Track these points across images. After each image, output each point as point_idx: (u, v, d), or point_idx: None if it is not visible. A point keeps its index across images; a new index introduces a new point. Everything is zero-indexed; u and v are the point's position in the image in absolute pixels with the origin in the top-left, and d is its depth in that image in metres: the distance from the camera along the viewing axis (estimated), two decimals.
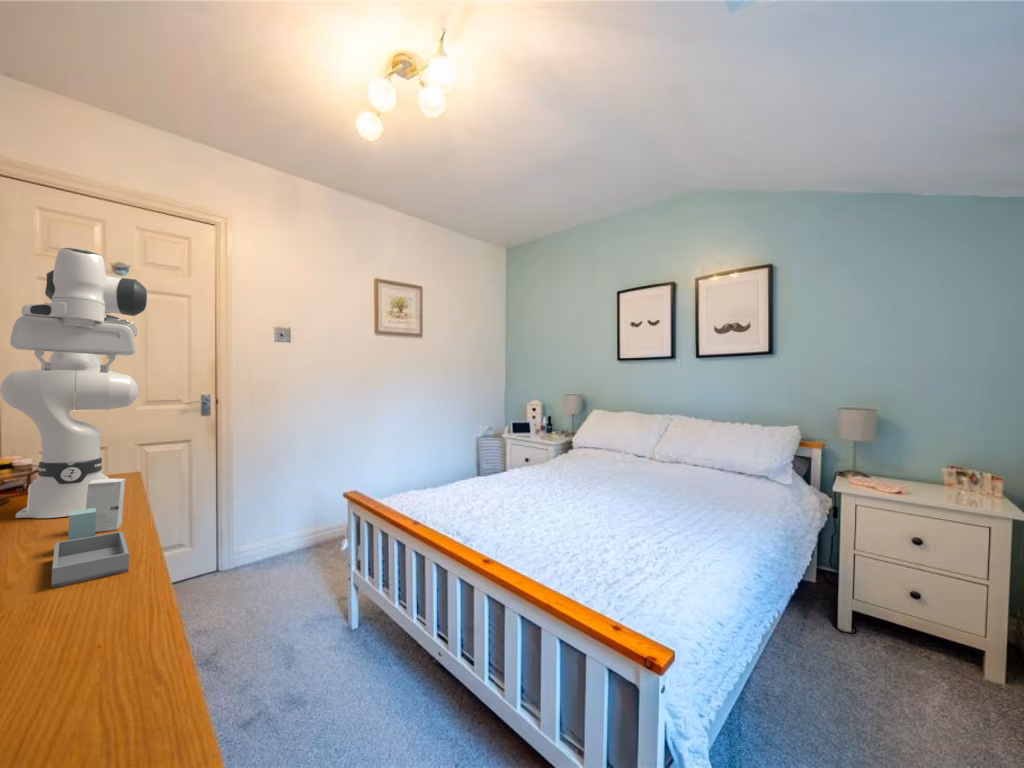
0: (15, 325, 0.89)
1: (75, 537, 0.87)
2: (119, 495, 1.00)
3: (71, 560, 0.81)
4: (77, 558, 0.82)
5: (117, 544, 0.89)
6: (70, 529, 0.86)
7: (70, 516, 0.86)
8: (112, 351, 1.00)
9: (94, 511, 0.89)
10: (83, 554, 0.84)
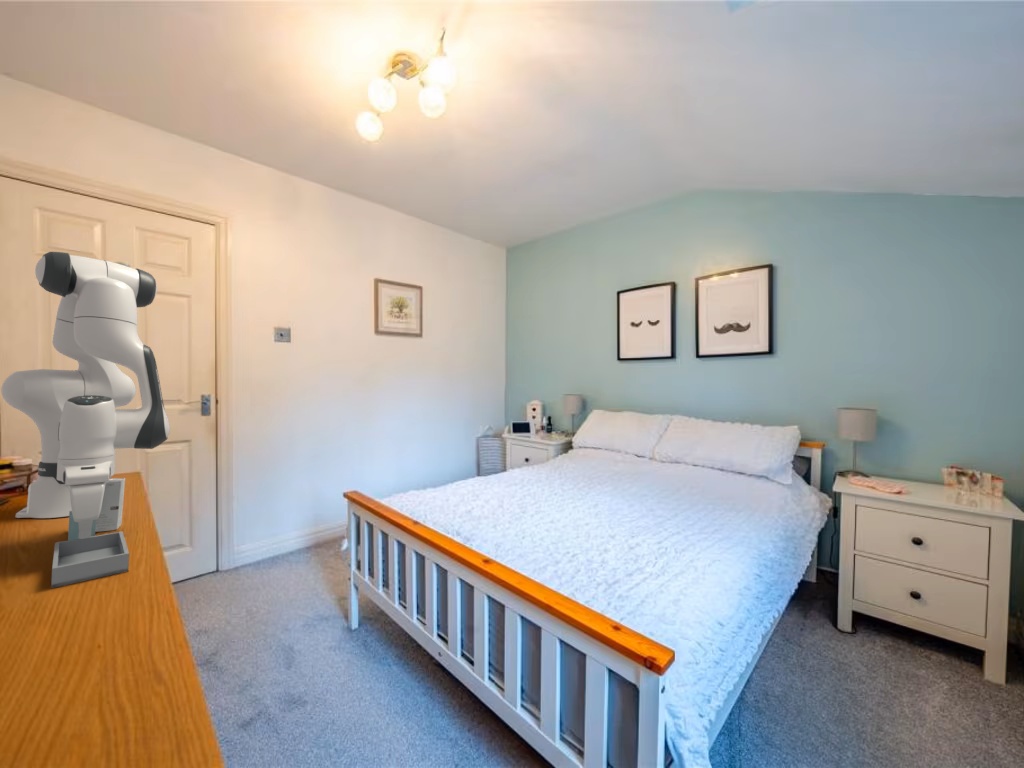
0: (102, 495, 0.84)
1: (75, 537, 0.87)
2: (119, 495, 1.00)
3: (71, 560, 0.81)
4: (77, 558, 0.82)
5: (117, 544, 0.89)
6: (70, 529, 0.86)
7: (70, 516, 0.86)
8: None
9: None
10: (83, 554, 0.84)
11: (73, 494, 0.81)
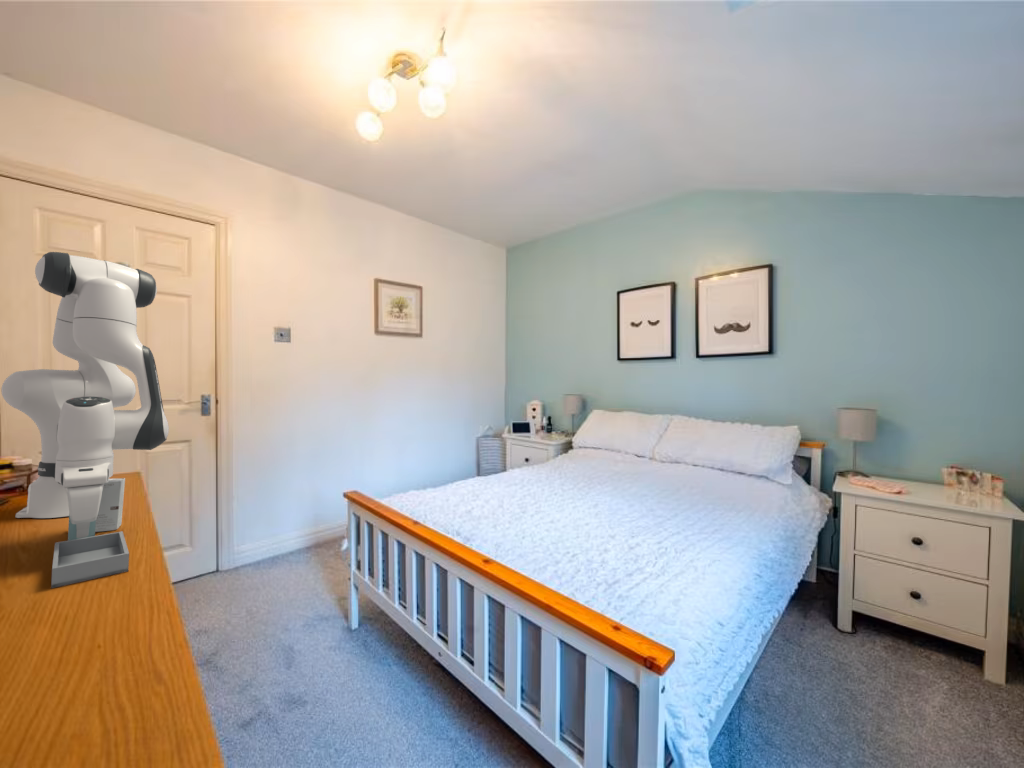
0: (100, 497, 0.84)
1: (75, 537, 0.87)
2: (119, 495, 1.00)
3: (71, 560, 0.81)
4: (77, 558, 0.82)
5: (117, 544, 0.89)
6: (70, 529, 0.86)
7: None
8: None
9: None
10: (83, 554, 0.84)
11: (71, 496, 0.81)
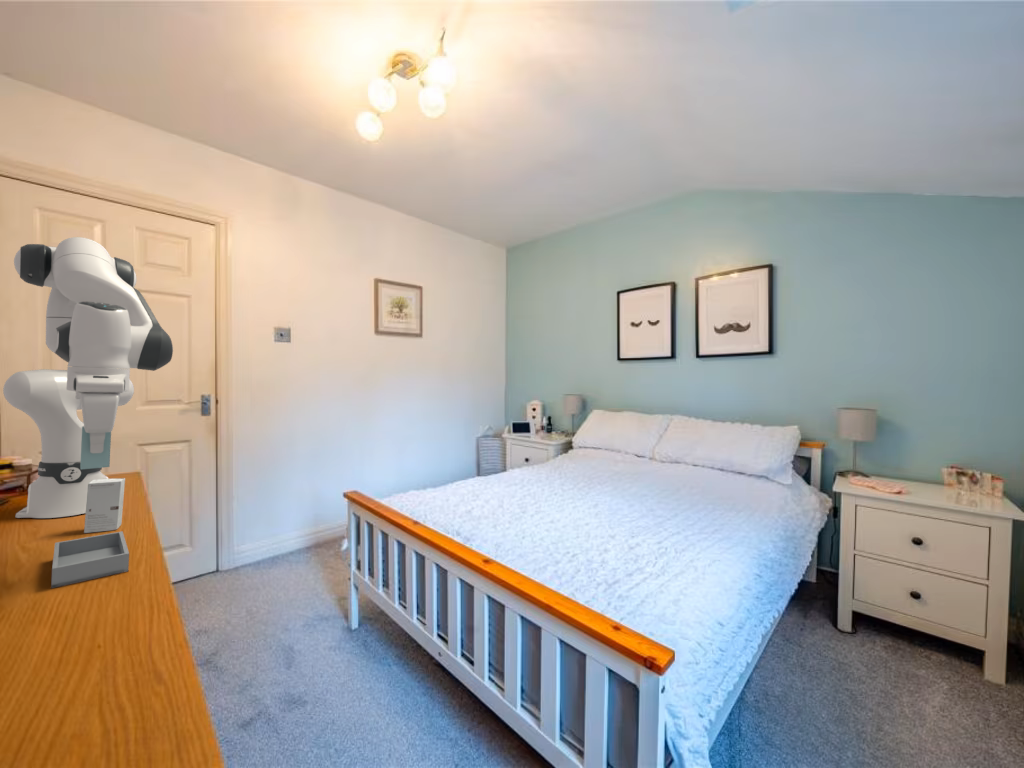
0: (116, 406, 0.77)
1: (89, 453, 0.79)
2: (119, 495, 1.00)
3: (71, 560, 0.81)
4: (77, 558, 0.82)
5: (117, 544, 0.89)
6: (83, 443, 0.79)
7: (83, 429, 0.79)
8: None
9: None
10: (83, 554, 0.84)
11: (84, 401, 0.74)
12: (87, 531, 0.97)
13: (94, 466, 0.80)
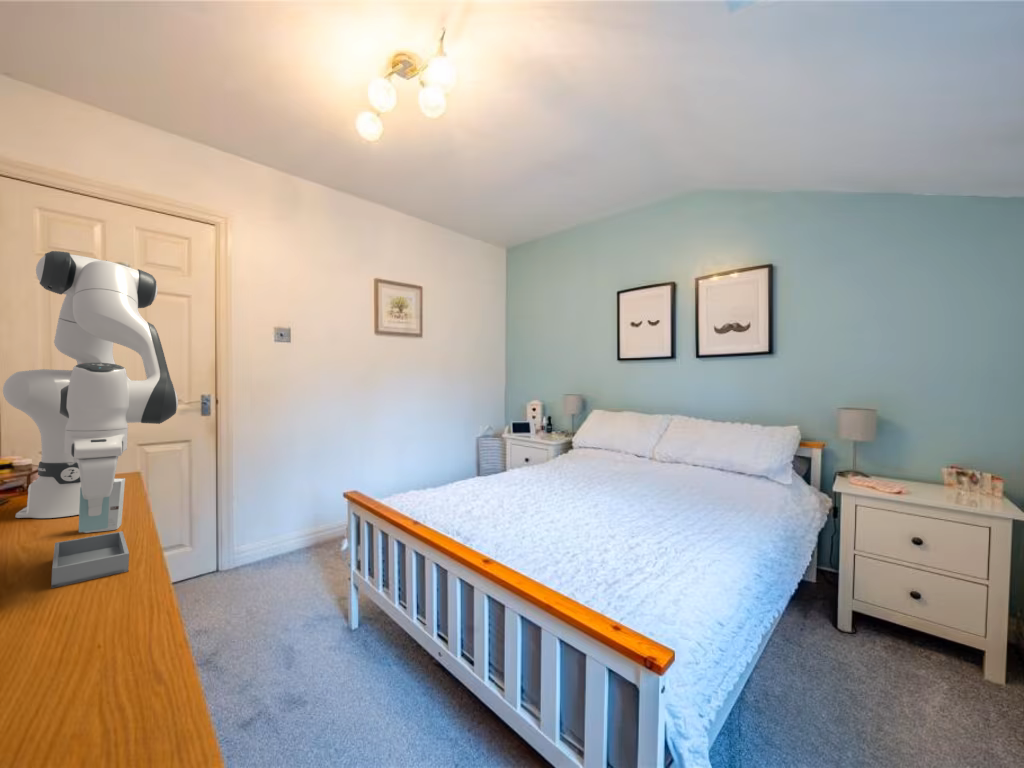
0: (115, 471, 0.77)
1: (87, 515, 0.79)
2: (119, 495, 1.00)
3: (71, 560, 0.81)
4: (77, 558, 0.82)
5: (117, 544, 0.89)
6: (81, 506, 0.79)
7: (81, 492, 0.79)
8: None
9: None
10: (83, 554, 0.84)
11: (82, 468, 0.73)
12: (87, 531, 0.97)
13: (92, 528, 0.80)
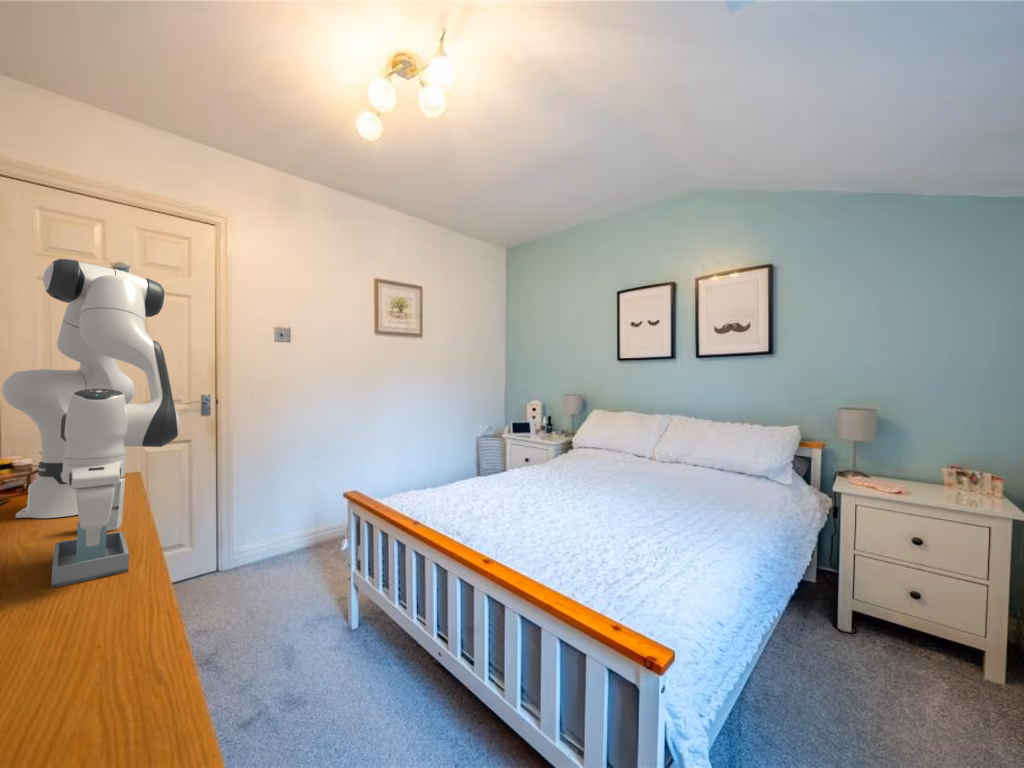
0: (112, 499, 0.76)
1: (84, 551, 0.79)
2: (119, 495, 1.00)
3: (71, 560, 0.81)
4: None
5: (117, 544, 0.89)
6: (79, 542, 0.78)
7: (79, 528, 0.78)
8: None
9: None
10: None
11: (80, 498, 0.73)
12: None
13: None
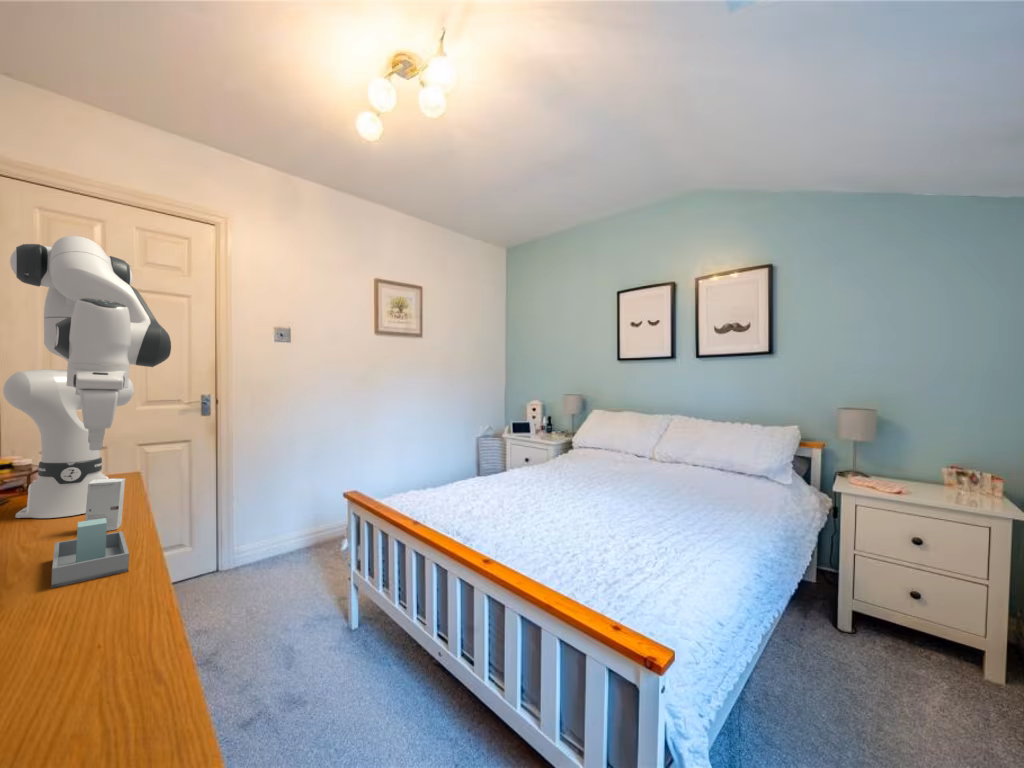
0: (115, 403, 0.77)
1: (84, 551, 0.79)
2: (119, 495, 1.00)
3: (71, 560, 0.81)
4: None
5: (117, 544, 0.89)
6: (79, 542, 0.78)
7: (79, 528, 0.78)
8: None
9: (105, 522, 0.82)
10: None
11: (84, 398, 0.74)
12: None
13: None
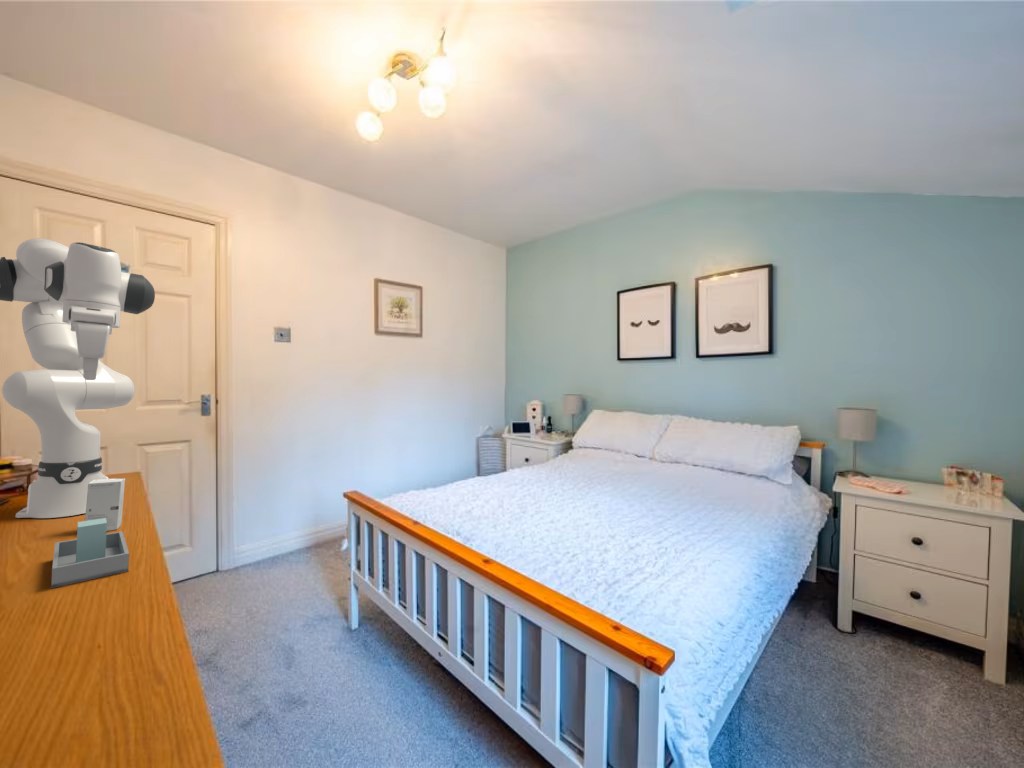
0: (108, 335, 0.85)
1: (84, 551, 0.79)
2: (119, 495, 1.00)
3: (71, 560, 0.81)
4: None
5: (117, 544, 0.89)
6: (79, 542, 0.78)
7: (79, 528, 0.78)
8: None
9: (105, 522, 0.82)
10: None
11: (78, 328, 0.82)
12: None
13: None
